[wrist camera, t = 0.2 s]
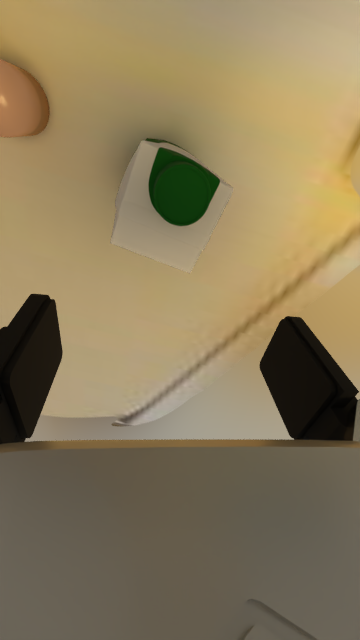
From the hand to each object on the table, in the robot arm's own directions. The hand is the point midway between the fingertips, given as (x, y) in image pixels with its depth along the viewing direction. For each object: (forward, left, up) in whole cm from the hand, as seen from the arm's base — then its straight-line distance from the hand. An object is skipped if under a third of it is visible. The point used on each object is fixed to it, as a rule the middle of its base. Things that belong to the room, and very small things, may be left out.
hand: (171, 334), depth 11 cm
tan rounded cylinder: (+6, -17, -31) cm, 36 cm away
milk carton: (-1, -1, -31) cm, 31 cm away
